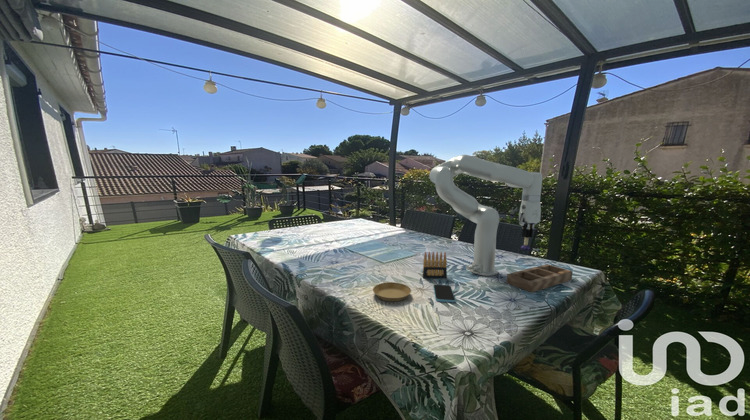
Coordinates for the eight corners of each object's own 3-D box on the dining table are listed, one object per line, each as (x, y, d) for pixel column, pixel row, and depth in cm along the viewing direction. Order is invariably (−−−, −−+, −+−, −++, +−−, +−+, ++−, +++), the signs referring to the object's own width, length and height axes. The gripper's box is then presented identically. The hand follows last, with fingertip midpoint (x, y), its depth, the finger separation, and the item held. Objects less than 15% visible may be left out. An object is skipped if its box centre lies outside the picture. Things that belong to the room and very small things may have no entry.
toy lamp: (526, 247, 133) (528, 214, 131) (534, 250, 129) (537, 215, 127) (518, 248, 132) (521, 214, 130) (526, 250, 127) (529, 215, 125)
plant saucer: (367, 291, 109) (367, 285, 108) (399, 285, 114) (399, 279, 114) (382, 307, 95) (382, 300, 95) (418, 300, 101) (418, 293, 101)
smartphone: (450, 285, 113) (456, 300, 99) (450, 287, 113) (455, 303, 99) (433, 284, 114) (435, 299, 100) (432, 286, 114) (435, 302, 100)
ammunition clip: (423, 278, 123) (423, 252, 121) (422, 276, 125) (423, 251, 123) (446, 278, 122) (447, 252, 121) (445, 276, 124) (446, 251, 123)
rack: (531, 292, 107) (532, 281, 107) (506, 282, 117) (507, 273, 116) (571, 279, 121) (572, 270, 120) (546, 272, 130) (547, 263, 130)
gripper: (528, 199, 120) (524, 240, 123) (548, 199, 128) (544, 237, 130) (512, 198, 127) (509, 236, 129) (533, 197, 134) (529, 234, 137)
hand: (527, 236), depth 130 cm, fingers closed on toy lamp
